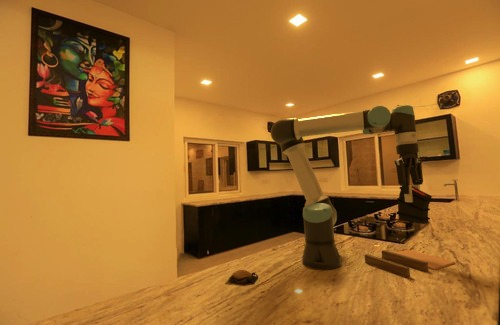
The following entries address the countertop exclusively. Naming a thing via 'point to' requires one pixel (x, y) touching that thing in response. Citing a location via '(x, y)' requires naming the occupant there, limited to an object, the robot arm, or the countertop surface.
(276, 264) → the countertop surface
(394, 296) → the countertop surface
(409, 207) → the magazine
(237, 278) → the brown toy turtle
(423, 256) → the mat
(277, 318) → the countertop surface
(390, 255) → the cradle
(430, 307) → the countertop surface
